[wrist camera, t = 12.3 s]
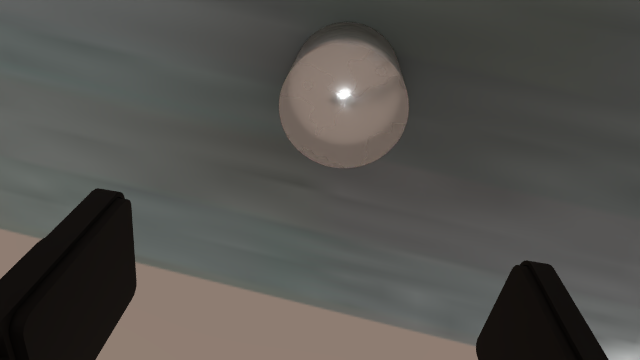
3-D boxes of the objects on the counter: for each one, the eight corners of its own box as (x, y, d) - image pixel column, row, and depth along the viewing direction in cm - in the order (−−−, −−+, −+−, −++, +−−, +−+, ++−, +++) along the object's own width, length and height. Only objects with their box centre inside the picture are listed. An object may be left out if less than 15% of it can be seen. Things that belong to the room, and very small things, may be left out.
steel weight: (411, 32, 24) (424, 58, 19) (385, 133, 27) (391, 177, 22) (301, 12, 23) (287, 33, 19) (288, 115, 26) (272, 156, 22)
